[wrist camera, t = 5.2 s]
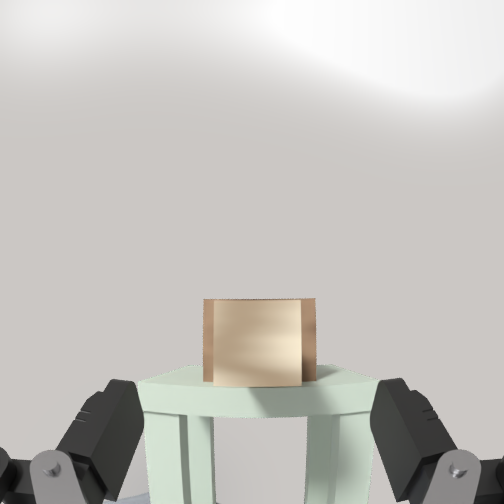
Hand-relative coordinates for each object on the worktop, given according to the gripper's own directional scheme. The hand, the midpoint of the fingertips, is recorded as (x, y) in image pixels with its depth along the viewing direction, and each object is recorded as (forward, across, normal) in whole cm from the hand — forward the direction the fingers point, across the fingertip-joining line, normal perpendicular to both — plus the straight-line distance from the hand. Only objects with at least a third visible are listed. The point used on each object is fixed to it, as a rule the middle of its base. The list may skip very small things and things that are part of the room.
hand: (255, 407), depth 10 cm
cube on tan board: (+9, 0, +6) cm, 11 cm away
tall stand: (-1, 0, +38) cm, 38 cm away
